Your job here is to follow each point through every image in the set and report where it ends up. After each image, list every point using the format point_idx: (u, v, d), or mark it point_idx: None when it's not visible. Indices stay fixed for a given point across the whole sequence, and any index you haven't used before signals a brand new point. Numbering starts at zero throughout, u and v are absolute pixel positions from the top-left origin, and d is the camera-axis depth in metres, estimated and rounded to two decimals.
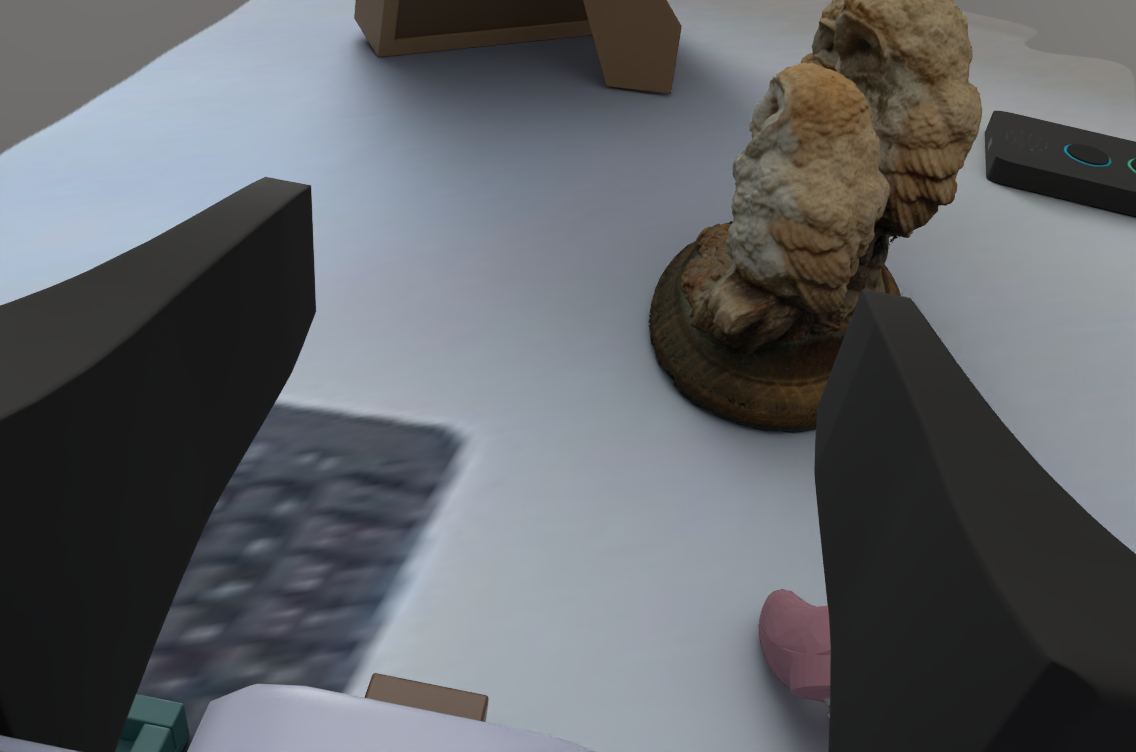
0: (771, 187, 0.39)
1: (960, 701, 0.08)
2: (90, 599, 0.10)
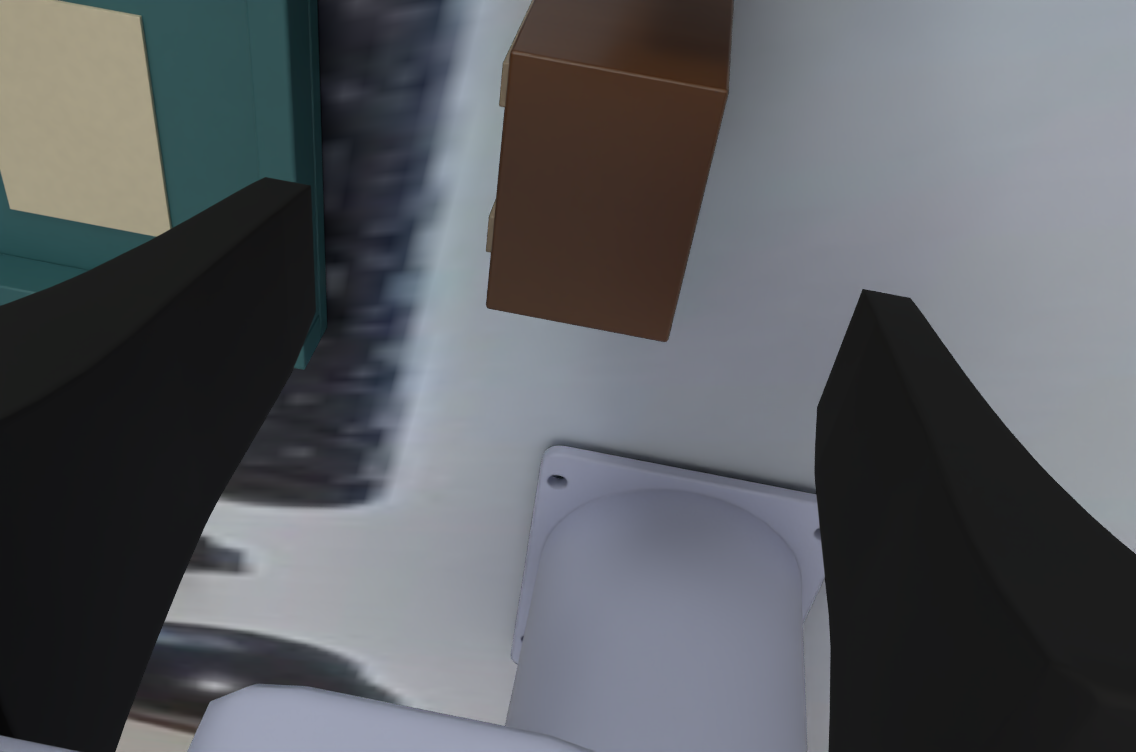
0: None
1: (960, 700, 0.08)
2: (90, 599, 0.10)
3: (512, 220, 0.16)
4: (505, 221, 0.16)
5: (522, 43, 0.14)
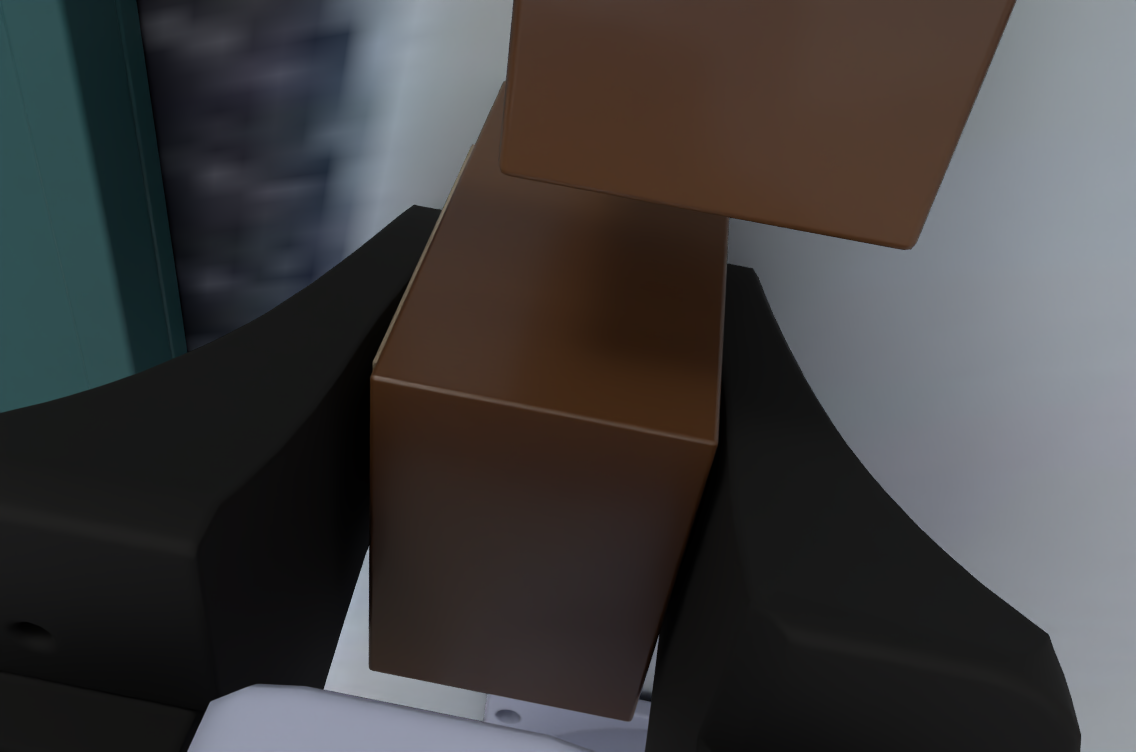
0: None
1: (708, 652, 0.08)
2: (294, 640, 0.09)
3: (394, 578, 0.10)
4: (385, 578, 0.10)
5: (391, 359, 0.09)
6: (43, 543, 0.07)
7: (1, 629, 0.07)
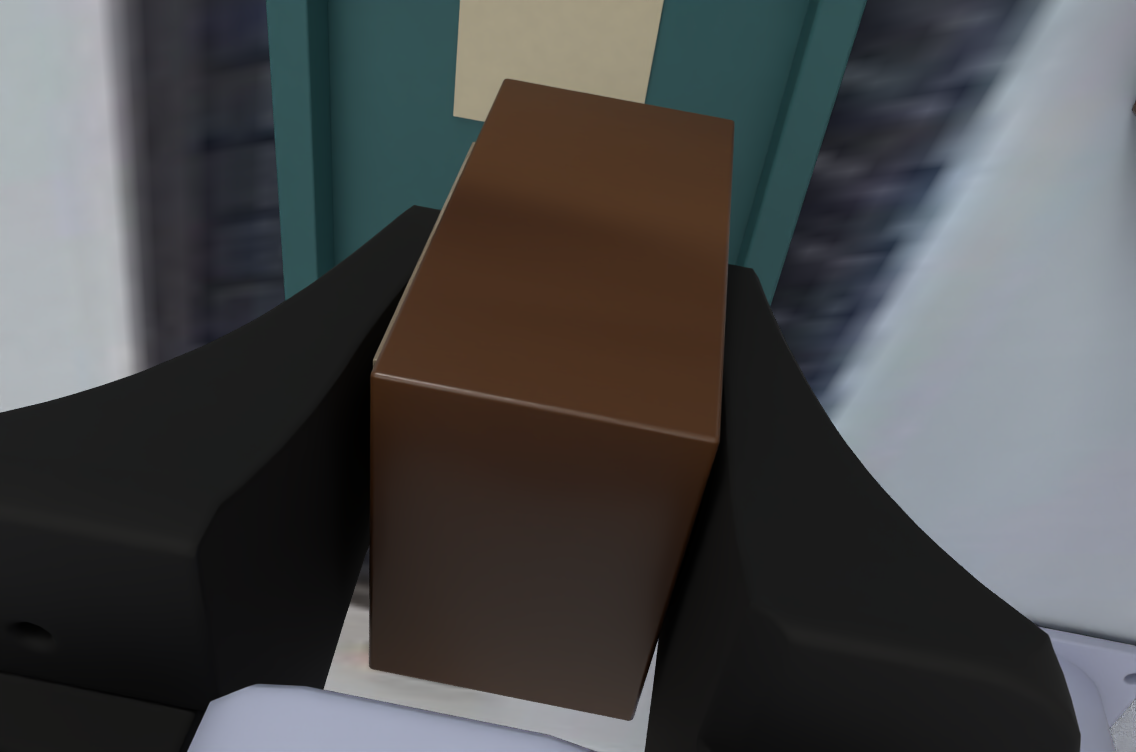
0: None
1: (708, 651, 0.08)
2: (294, 640, 0.09)
3: (394, 577, 0.10)
4: (385, 577, 0.10)
5: (393, 356, 0.09)
6: (43, 543, 0.07)
7: (1, 629, 0.07)
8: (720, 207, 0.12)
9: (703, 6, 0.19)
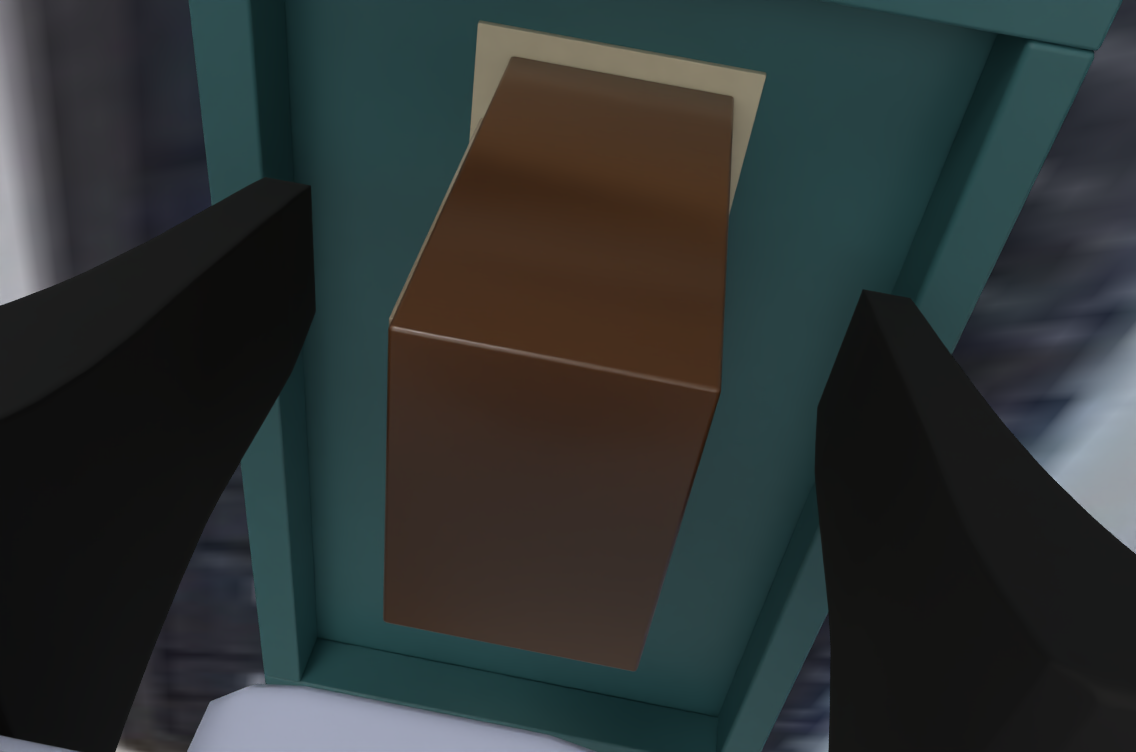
0: None
1: (960, 701, 0.08)
2: (90, 599, 0.10)
3: (409, 529, 0.11)
4: (400, 529, 0.11)
5: (409, 311, 0.09)
6: None
7: None
8: (720, 178, 0.12)
9: (780, 221, 0.15)
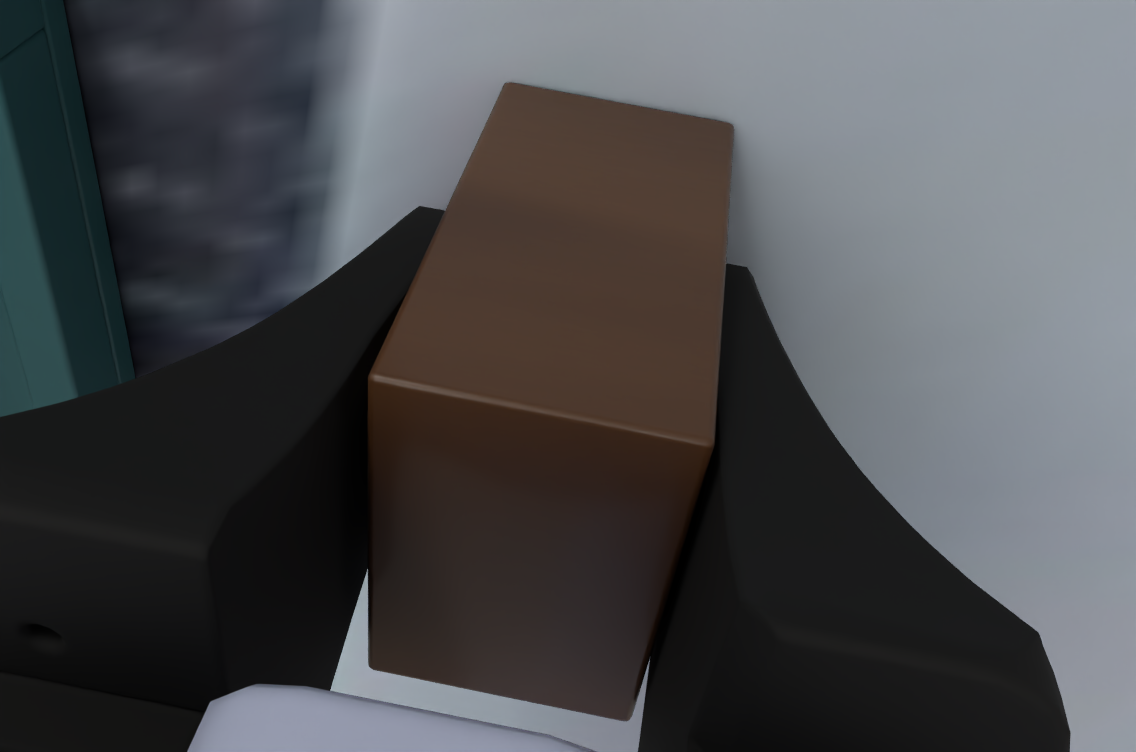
0: None
1: (699, 650, 0.08)
2: (301, 641, 0.09)
3: None
4: None
5: None
6: (54, 545, 0.07)
7: (11, 631, 0.07)
8: None
9: None
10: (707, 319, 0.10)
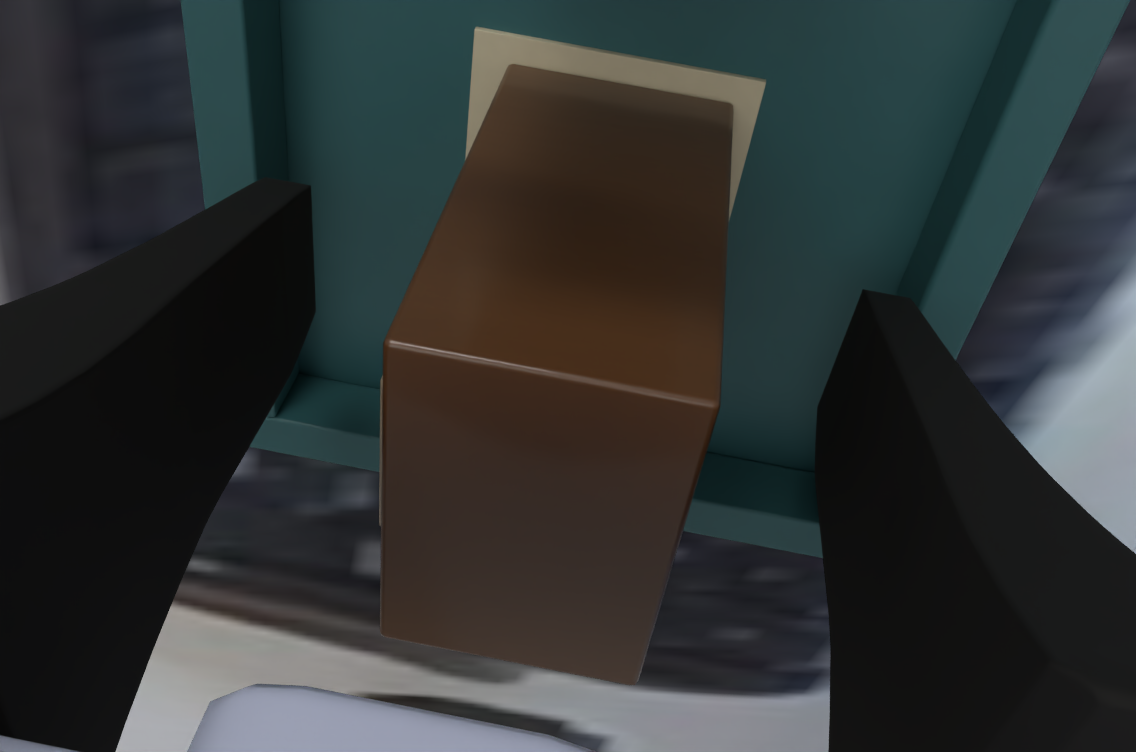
0: None
1: (959, 701, 0.08)
2: (90, 599, 0.10)
3: None
4: None
5: None
6: None
7: None
8: None
9: None
10: (711, 288, 0.10)
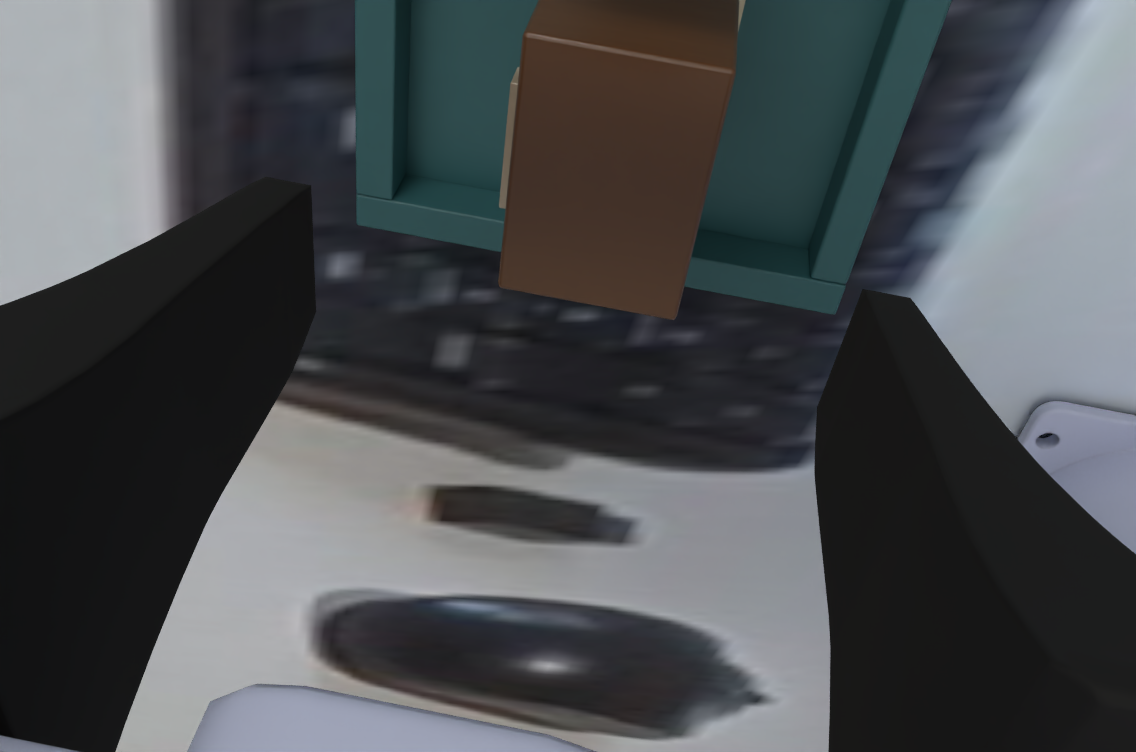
0: None
1: (960, 701, 0.08)
2: (90, 599, 0.10)
3: None
4: None
5: None
6: None
7: None
8: None
9: None
10: (728, 21, 0.16)
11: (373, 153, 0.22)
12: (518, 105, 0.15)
